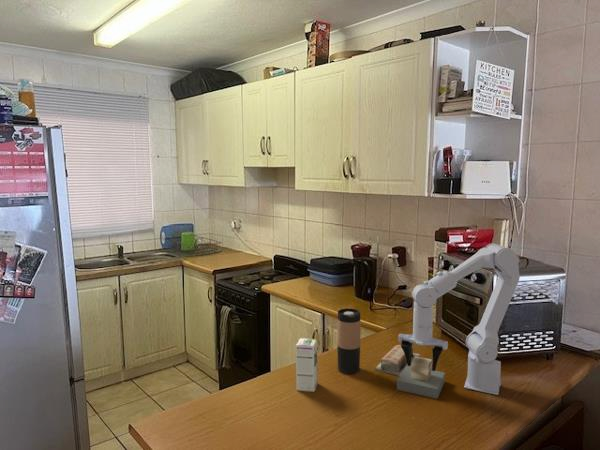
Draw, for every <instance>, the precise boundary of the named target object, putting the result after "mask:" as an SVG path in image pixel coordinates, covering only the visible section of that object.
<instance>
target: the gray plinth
mask: <svg viewBox="0 0 600 450" xmlns="http://www.w3.org/2000/svg"><path fill="white" fill-rule="evenodd" d="M445 379H446V372H445V371H439V370H435V371H432V369H431V376H430V378H429V380H428V382H427V381H422V380H418V379H413V378H411V366H408V365H406V367H405V369H404V370H403V372H402V373H401V375H400V376H398V377H397V379H396V390H398V391H401V392H405V393H410V394H415V395H419V396H424V397H427V398H430V399H431V398H432V399H435V400H436V399H438V398H439V396H440V395H441V392H442V389H443V386H444V384H445V381H446V380H445Z"/></svg>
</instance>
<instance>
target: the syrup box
mask: <svg viewBox="0 0 600 450" xmlns="http://www.w3.org/2000/svg"><path fill="white" fill-rule="evenodd" d="M318 371H319V369H318V340H317V339H316V338H307V337H306V338H305V337H304V338H302V337H301V338H299V339H298V341H297V342H296V344H295V378H296V380H295V381H296V385H295V386H296V391H301V392H313V393H314V392H315V391H316V389H317V386H318V382H319V381H318V380H319V377H318V375H319V374H318Z"/></svg>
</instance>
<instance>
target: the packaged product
mask: <svg viewBox="0 0 600 450" xmlns="http://www.w3.org/2000/svg"><path fill="white" fill-rule="evenodd" d="M411 354H412V361H413V359H414V358H415V356H416V357H420V356H421V355H420V354H419V353H414V347H413V346H412V352H411ZM406 365H408V364H407V359H406V356H405V353H404V351H403V349H402V348H401V344H398V345H397V344H396V345H395V346H393V347H392V349H391V350H390V351H388V352H387V353H386V354H385V355H384V356H383V357H382V358H380V362H379V364H377V366H376V367H375V368H374V370H375V371H379V372H382V373H385V374H390V375H394V376H397V377H399V376H400V375H401V373H402V372H403V370H404V369H405V367H406ZM410 366H411V365H410Z"/></svg>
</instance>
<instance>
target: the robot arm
mask: <svg viewBox="0 0 600 450" xmlns="http://www.w3.org/2000/svg"><path fill="white" fill-rule="evenodd" d="M519 263H520V258H519V255H518V254H517V253H516V252H515V250H513V249H512V248H511V247H506V246H503V245H500V244H499V243H495V242H494V243H493V242H492V243H488V244H487V245H485V247H482V248H480V249H479V250H478V251H477V252H476V253H475V254H473V255H472V256H470V257H469V258H467V259H466V260H465V261H463V262H462V263H460V264H459V265H458V266H456V267H455V268H453V269H452V270H450V271H449V270H442V271H438V272H436V274H437V275H435V276H434V277H432V278H431V279H429V280H425V281H423V283H422V284H418V285H417V284H416V286H414V287H413V290H412V292H410V293H411V297H412V299H413V300H414V301H413V309H412V310H413V313H412V314H413V315H412V316H413V317H412V318H413V319H412V320H413V321H412V334H406V333H399V334H398V336H397V341H398V342H400V343H401V344H400V345H401V348H402V349H403V351H404V353H405V356H406V359H407V364H408V366H410V365H411V362H412V354H411V352H412V347H413V344H416V345H419V346H428V347H431V348H432V347H433V348H432V350H431V351H432V367H431V370H432V371H437V370H436V369H437V365H438V361H439V358H440V357H441V354H442V352H443V350H445V351H446V350H447V349H448V346H449V344H448V341H446V340H443V339H439V338H435V337H433V329H434V328H433V324H434V322H433V321H434V311H433V310H434V308H433V307H434V305H435V304H436V302H437V299H439V298H440V297H443V295H446V294H447V293H449V292H450V291H451V290H453V289H455V288H456V287H457V284H458V281H459V280H462V279H464V278H465V277H466V276H469V275H470V274H472V273H473V272H476V271H477V270H479V269H481V268H484V269H485V268H486V269H493V270H494V272H495V273H496V275H497V279H496V283H495V285H494V288H493V289H492V292H491V295H490V298H489V300H488V302H487V305H486V308H485V309H484V311H483V315H482V318H481V320H480V322H479V324H477V325H475V326H474V327H473V329H472V331H471V332H470V333H469V334H468V335H467V336H466V339H465V345H466V347H467V349H468V355H467V376H466V378H465V383H464V385H463V386H464V387H463V388H464V389H468V390H472V391H478V392H481V393H487V394H492V395H497V396H498V395H500V394H499V392H500V387H502V386H501V385H502V380H501V370H502V369H501V368H502V367H501V365H502V362H501V361H500V360H497V359H496V358H497V357H498V354H499V353H498V352H499V351H498V346H499V343H500V340H499V335H498V333H499V330H500V327H501V325H502V323H503V320H504V317H505V315H506V312H507V311H508V310H507V309H508V308H509V305H510V303H511V301H512V298H513V295H514V293H515V291H516V288H517V286H518V284H519V281H520V277H521V275H520V270H519V269H520V266H519Z"/></svg>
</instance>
